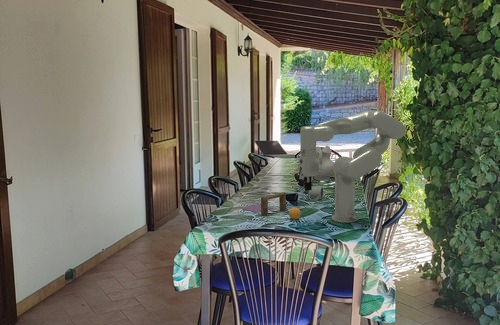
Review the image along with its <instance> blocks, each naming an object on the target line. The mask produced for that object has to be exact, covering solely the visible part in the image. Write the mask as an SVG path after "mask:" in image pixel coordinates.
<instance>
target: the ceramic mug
mask: <svg viewBox="0 0 500 325" xmlns="http://www.w3.org/2000/svg"><path fill="white" fill-rule="evenodd" d="M307 196H308V199H309V201H311V202H317V201H318V200H323V199H324V187H323V186H312V190H310V191H308V190H307Z"/></svg>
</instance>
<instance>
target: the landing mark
mask: <svg viewBox="0 0 500 325" xmlns="http://www.w3.org/2000/svg"><path fill="white" fill-rule="evenodd" d="M241 209H243V210H245V211H250V212H252V213H261V203H258V204H257V203H256V204H253V205H247V206H246V205H245V206H241ZM272 209H274V207H272V206H268V210H269V211H270V210H272Z"/></svg>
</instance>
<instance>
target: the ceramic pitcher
mask: <svg viewBox="0 0 500 325" xmlns="http://www.w3.org/2000/svg"><path fill="white" fill-rule="evenodd" d="M331 154H332V149H331V146H329V145H325V146H324V147H321V146H317V145H316V155H317V156H318V162H319V174H318V175H317V176H316V177H315V178H314V179H313V180H316V181H323V182H324V181H330V180H331V176H333V175H334V163H335V161H334V162H333V161H332V160H331Z"/></svg>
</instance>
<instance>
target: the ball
mask: <svg viewBox="0 0 500 325" xmlns="http://www.w3.org/2000/svg"><path fill="white" fill-rule="evenodd" d="M301 215H302V212H301V210H300V209H299V208H298V207H292V208H290V209H289V211H288V216H289V218H290V219H292V220H298V219H299V218H301Z"/></svg>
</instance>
